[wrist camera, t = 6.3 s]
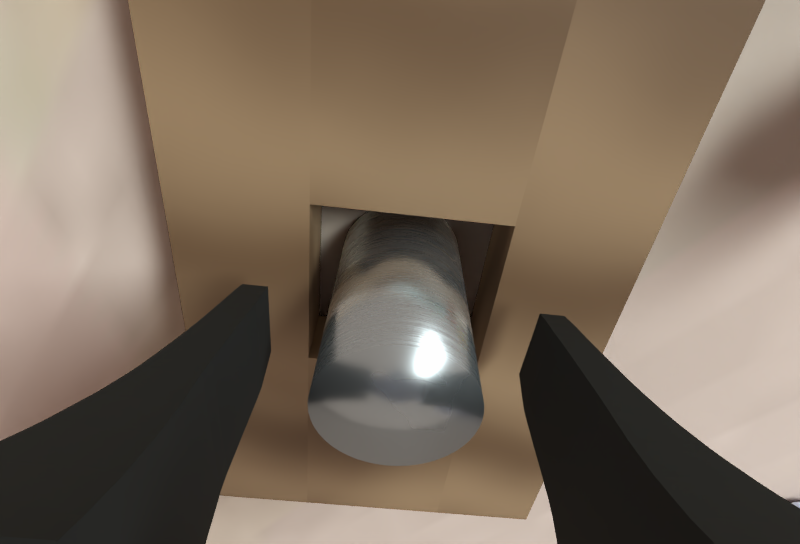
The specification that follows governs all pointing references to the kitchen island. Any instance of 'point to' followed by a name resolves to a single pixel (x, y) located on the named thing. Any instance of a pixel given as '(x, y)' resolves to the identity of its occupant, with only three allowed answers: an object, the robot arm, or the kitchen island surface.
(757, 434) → the kitchen island surface
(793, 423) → the kitchen island surface
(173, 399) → the robot arm
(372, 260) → the steel pin
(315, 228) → the wooden board with hole
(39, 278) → the kitchen island surface
